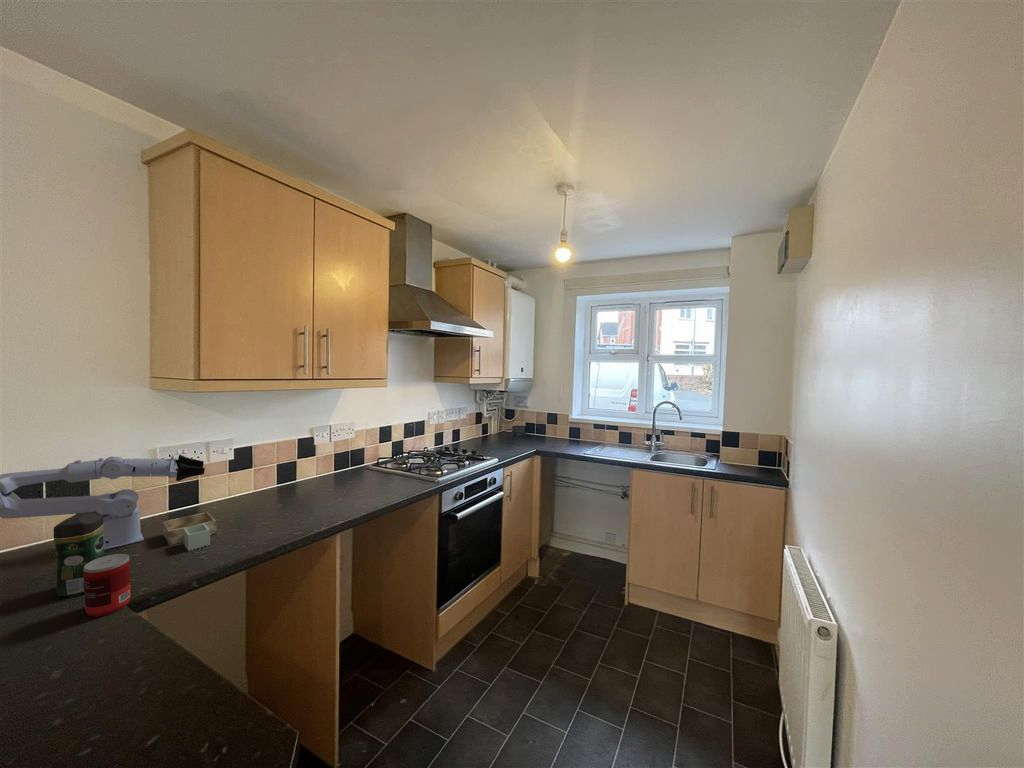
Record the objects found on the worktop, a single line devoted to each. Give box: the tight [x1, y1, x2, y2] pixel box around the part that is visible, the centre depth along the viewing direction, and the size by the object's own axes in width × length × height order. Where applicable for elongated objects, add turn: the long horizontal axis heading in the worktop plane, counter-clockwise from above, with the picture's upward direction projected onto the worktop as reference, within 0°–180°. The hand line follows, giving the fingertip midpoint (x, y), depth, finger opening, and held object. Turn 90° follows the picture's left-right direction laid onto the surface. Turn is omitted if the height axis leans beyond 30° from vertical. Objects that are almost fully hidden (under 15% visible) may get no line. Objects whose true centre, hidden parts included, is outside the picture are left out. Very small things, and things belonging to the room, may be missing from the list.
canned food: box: [83, 553, 132, 617], centre depth 96 cm, size 8×8×11 cm
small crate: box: [183, 524, 211, 552], centre depth 128 cm, size 5×7×5 cm
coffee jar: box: [53, 511, 106, 597], centre depth 103 cm, size 10×8×19 cm
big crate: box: [162, 511, 217, 546], centre depth 136 cm, size 12×11×4 cm
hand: (203, 467), depth 142 cm, fingers open, 7 cm apart
